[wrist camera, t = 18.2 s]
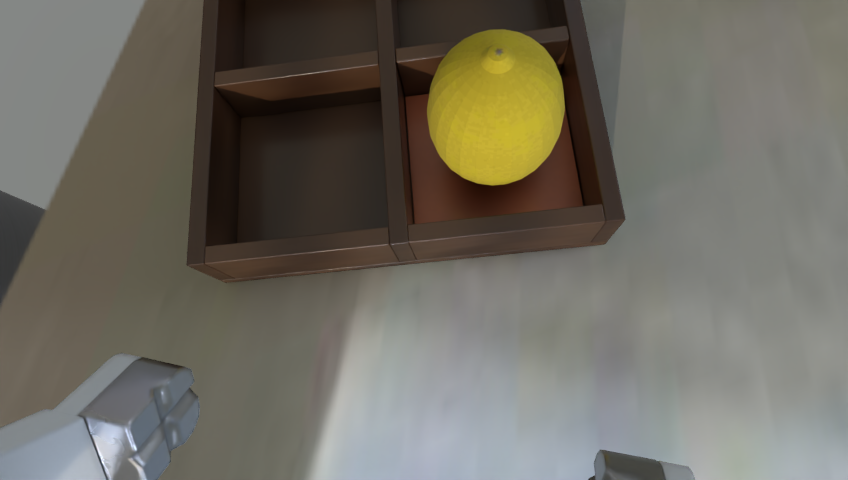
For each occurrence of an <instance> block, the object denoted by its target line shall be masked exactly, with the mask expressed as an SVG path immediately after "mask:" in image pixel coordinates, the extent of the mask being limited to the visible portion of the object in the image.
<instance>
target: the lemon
mask: <svg viewBox="0 0 848 480" xmlns="http://www.w3.org/2000/svg"><path fill="white" fill-rule="evenodd" d="M564 112H565V101H564V91H563V83H562V79H561V76H560V73H559V71H558V69H557V66H556V64H555V62H554V60H553V58H552V57H551V56H550V55H549V53H548V52H547V51H546V49H545V48H544V47H543V46H542V45H540V44H539V43H538V42H536V41H535V40H534V39H532V38H531V37H529V36H526V35H524V34H522V33H519V32H516V31H510V30H505V29H498V30H487V31H483V32H478V33H475V34H473V35H471V36H469V37H467V38H465V39H463V40H462V41H461V42H460V43H458V44H457V45H456V46H454V47H453V48H452V49H451V50H450V51H449V52H448V53H447V55H446V56H445V57H444V59H443V60H442V61H441V63H440V64H439V66H438V69H437V71H436V73H435V76H434V78H433V80H432V83H431V86H430V92H429V98H428V106H427V118H428V125H429V132H430V136H431V139H432V141H433V143H434V145H435V148H436V150H437V152H438V154H439V156H440V157H441V158H442V159H443V161H444V162H445V163H446V164H447V165H448V167H449V168H450V169H451V170H452V171H454V172H455V173H457V174H458V175H460V176H461V177H462V178H464V179H467V180H469V181H472V182H475V183H477V184H483V185H491V186H494V185H504V184H509V183H512V182H514V181H517V180H520V179H522V178H524V177H525V176H527V175H529V174H530V173H532V172H533V171H535V170H536V169H537V168H538V167H539V166H540V165H541V164H542V163H543V162H544V160H545V159H546V158H547V157H548V156H549V155H550V153H551V151H552V149H553V147H554V145H555V143H556V141H557V139H558V137H559V135H560V132H561V127H562V122H563V117H564Z"/></svg>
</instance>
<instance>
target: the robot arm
mask: <svg viewBox="0 0 848 480" xmlns="http://www.w3.org/2000/svg"><path fill="white" fill-rule="evenodd" d="M193 383H194V377H193V373H192V370H191V369H189V368H186V367H183V366H178V365H174V364H170V363H165V362H161V361H157V360H152V359H148V358H144V357H138V356H134V355H129V354H125V353H120V354H117V355H114V356H112V357H111V358H110V359H109V360H108V361H106V362H105V363H104V364H103V365H102V366H101V367H100V368H99V369H98V370H96V371H95V372H94V373H93V374H92V375H91V376H90V377H89V378H87V379H86V380H85V381H84V382H83V383H82V384H81V385H80V386H79V387H77V388H76V389H75V390H74V391H73V392H72V393H71V394H70V395H69V396H67V397H66V398H65V399H64V400H63V401H62V402H61V403H60V404H59V405H57V406H56V407H55V408H54V409H53V410H49V409H44V410H41V411H39V412H37V413H34V414H32V415H30V416H27V417H25V418H22V419H20V420H18V421H15V422H13V423H10V424H8V425H6V426H3V427H1V428H0V480H157V479H158V478H159V477H160V475H161V474H162V473H163V471H164V470H165V469H166V467H167V466H168V465H169V463H170V462H171V450H173V449H175V448H177V447H178V446H180V445H182V444H184V443H185V442H186V441H187V439H188V438H189V436H190V435H191V434H192V432H193V430H194V428H195V425H196V423H197V420H198V418H199V410H200V404H199V399H198V396H197V395H196V394H195V393H194V392H193V391H192V390H191V389H190V386H191V385H192V384H193ZM594 469H595V476H593V477H591V478H589V479H588V480H695V478H694V475H693V472H692V471H691V470H690V468H689V467H687V466H682V465H677V464H672V463H667V462H662V461H656V460H653V459H648V458H643V457H637V456H632V455H627V454H622V453H616V452H611V451H606V450H600V451H599V452H598V453H597V455H596V458H595V461H594Z"/></svg>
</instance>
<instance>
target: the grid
mask: <svg viewBox="0 0 848 480" xmlns="http://www.w3.org/2000/svg"><path fill="white" fill-rule="evenodd" d="M498 29H505V30H510V31H516V32H519V33H522V34H524V35H526V36H529V37H531V38H532V39H534V40H535V41H536V42H538V43H539V44H540V45H542V46H543V47H544V48H545V49H546V51H547V52H548V53H549V55H550V56H551V57H552V58H553V60H554V62H555V64H556V66H557V69H558V71H559V73H560V76H561V79H562V83H563V91H564V101H565V112H564V117H563V122H562V127H561V132H560V135H559V137H558V139H557V141H556V143H555V145H554V147H553V149H552V151H551V153H550V155H549V156H548V157H547V158H546V159H545V160H544V162H543V163H542V164H541V165H540V166H539V167H538V168H537V169H536V170H535V171H533V172H532V173H530V174H529V175H527V176H525V177H524V178H522V179H520V180H517V181H514V182H512V183H509V184H504V185H494V186H491V185H483V184H477V183H475V182H472V181H469V180H467V179H464V178H462V177H461V176H460V175H458V174H457V173H455V172H454V171H452V170H451V169H450V168H449V167H448V165H447V164H446V163H445V162H444V161H443V159H442V158H441V157H440V156H439V154H438V152H437V150H436V148H435V145H434V143H433V141H432V139H431V136H430V132H429V125H428V118H427V106H428V98H429V92H430V86H431V83H432V80H433V78H434V76H435V73H436V71H437V69H438V66H439V64H440V63H441V61H442V60H443V59H444V57H445V56H446V55H447V53H448V52H449V51H450V50H451V49H452V48H453V47H454V46H456V45H457V44H458V43H460V42H461V41H462V40H463V39H465V38H467V37H469V36H471V35H473V34H475V33H478V32H483V31H487V30H498ZM624 221H625V214H624V209H623V204H622V200H621V195H620V190H619V185H618V180H617V176H616V171H615V166H614V161H613V156H612V152H611V147H610V142H609V137H608V132H607V128H606V123H605V118H604V113H603V108H602V104H601V99H600V94H599V89H598V85H597V80H596V75H595V70H594V65H593V61H592V56H591V51H590V46H589V41H588V37H587V32H586V27H585V22H584V17H583V13H582V8H581V3H580V0H204V6H203V21H202V37H201V52H200V68H199V83H198V98H197V114H196V129H195V144H194V160H193V175H192V191H191V206H190V221H189V237H188V252H187V266H189V267H191V268H193V269H196V270H198V271H200V272H203V273H205V274H207V275H209V276H212V277H214V278H216V279H218V280H221V281H223V282H225V283H227V282H237V281H247V280H256V279H266V278H276V277H286V276H296V275H306V274H316V273H326V272H336V271H345V270H355V269H365V268H375V267H385V266H395V265H405V264H415V263H424V262H434V261H444V260H454V259H464V258H474V257H484V256H494V255H503V254H513V253H523V252H533V251H543V250H553V249H563V248H573V247H582V246H592V245H602V244H606V242H607V241H608V240H609V239H610V237H611V236H612V235H613V234H614V233H615V231H616V230H617V229H618V228H619V227H620V226H621V224H622V223H623V222H624Z"/></svg>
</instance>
